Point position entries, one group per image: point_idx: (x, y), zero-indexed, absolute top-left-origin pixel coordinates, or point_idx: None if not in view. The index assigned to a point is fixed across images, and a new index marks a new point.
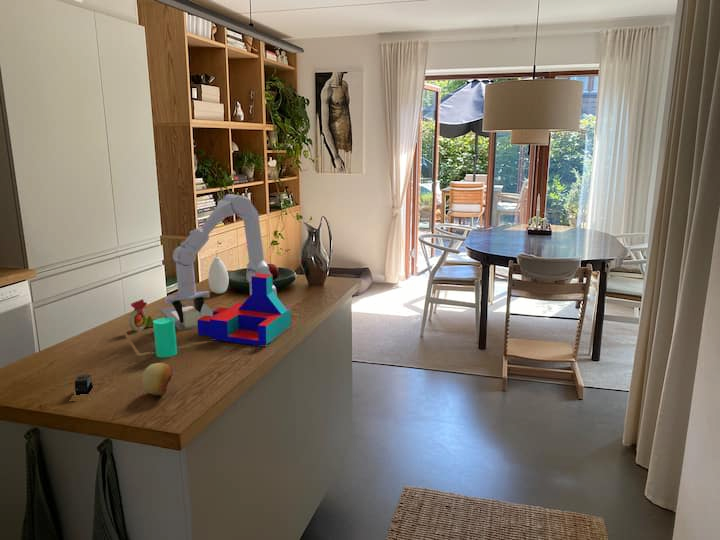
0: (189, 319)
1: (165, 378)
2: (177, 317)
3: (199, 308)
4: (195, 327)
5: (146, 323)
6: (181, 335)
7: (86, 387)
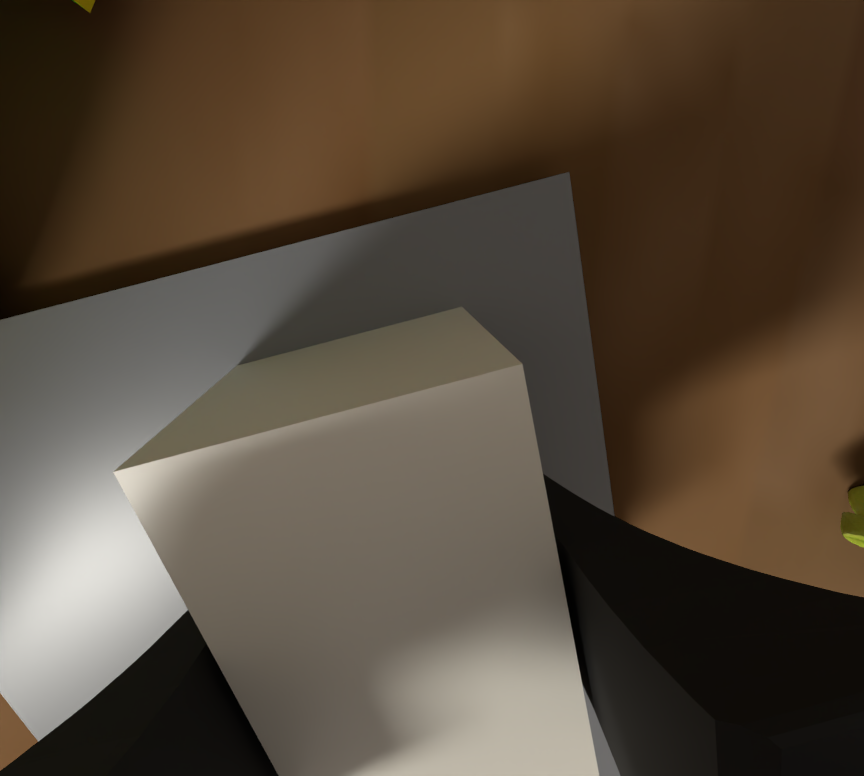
0: (405, 353)
1: None
2: None
3: (128, 700)
4: (313, 264)
5: None
6: (543, 35)
7: None
